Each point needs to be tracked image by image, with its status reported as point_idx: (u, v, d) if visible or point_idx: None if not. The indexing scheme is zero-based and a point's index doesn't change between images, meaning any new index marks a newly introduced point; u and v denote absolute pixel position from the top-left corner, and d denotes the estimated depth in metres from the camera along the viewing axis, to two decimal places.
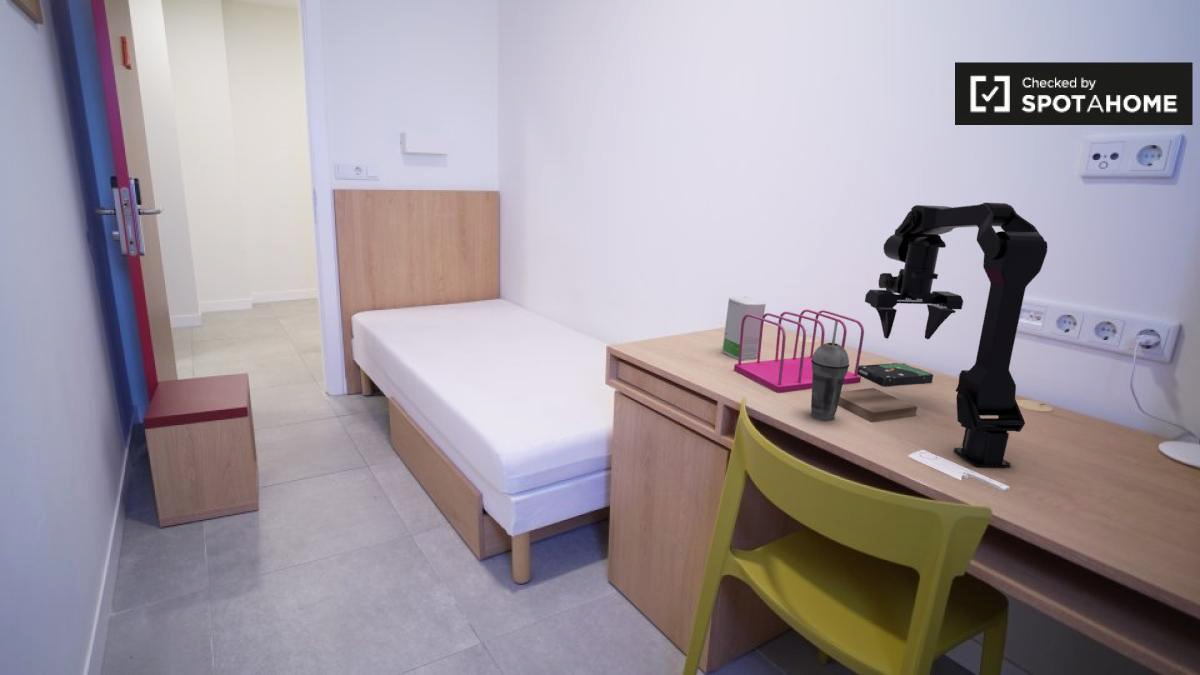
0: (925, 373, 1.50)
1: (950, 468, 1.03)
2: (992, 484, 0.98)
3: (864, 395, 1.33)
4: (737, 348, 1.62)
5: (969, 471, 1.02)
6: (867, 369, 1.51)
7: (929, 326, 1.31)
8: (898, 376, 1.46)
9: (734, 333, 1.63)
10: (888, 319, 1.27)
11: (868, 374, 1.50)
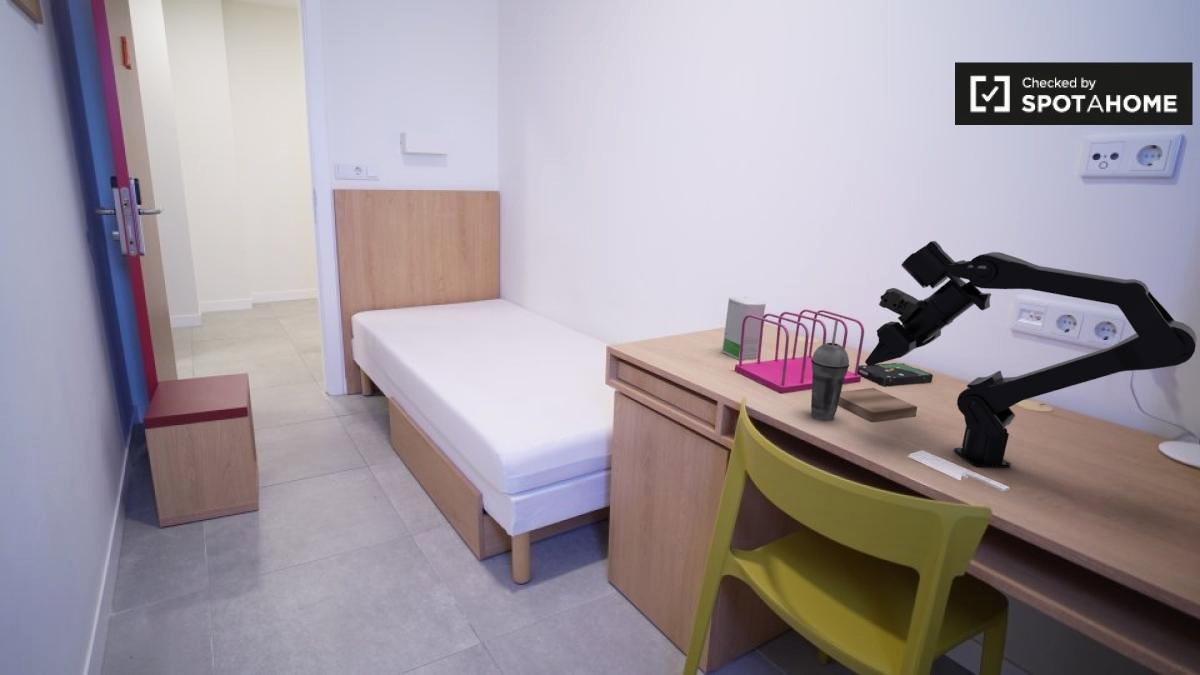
0: (925, 373, 1.50)
1: (950, 468, 1.03)
2: (992, 484, 0.98)
3: (864, 395, 1.33)
4: (737, 348, 1.62)
5: (969, 471, 1.02)
6: (867, 369, 1.51)
7: None
8: (898, 376, 1.47)
9: (734, 333, 1.63)
10: (890, 359, 1.10)
11: (868, 374, 1.50)
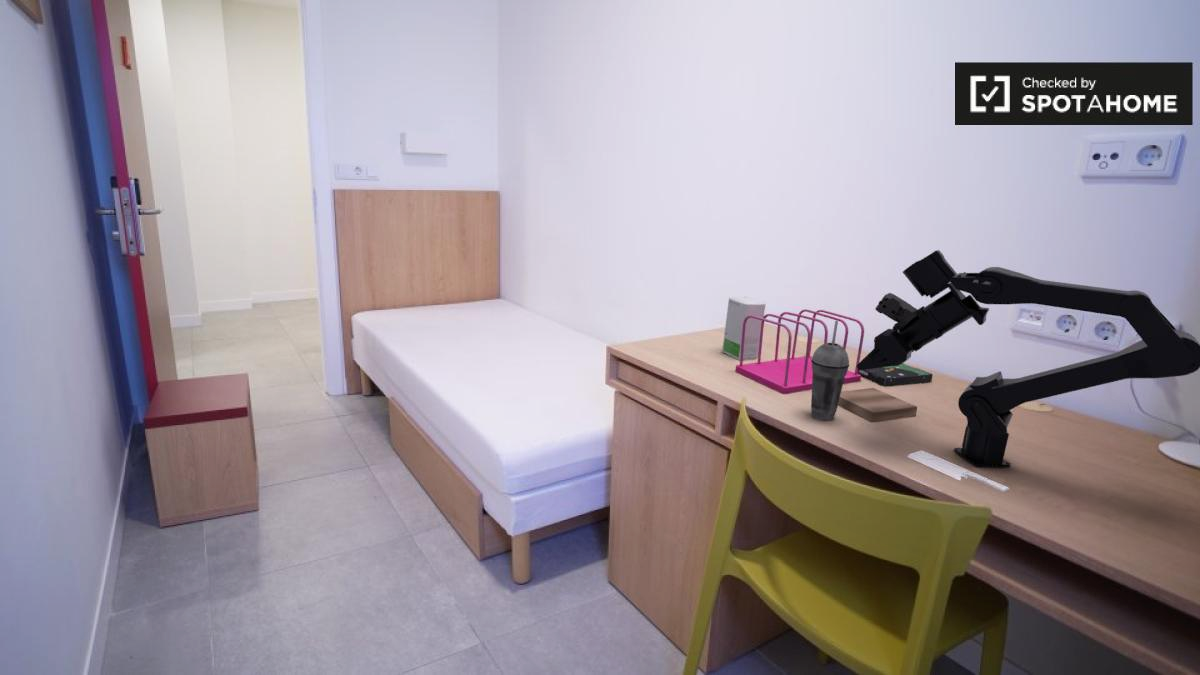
0: (924, 373, 1.50)
1: (949, 469, 1.03)
2: (991, 485, 0.98)
3: (864, 395, 1.33)
4: (737, 348, 1.62)
5: (968, 472, 1.02)
6: (867, 369, 1.51)
7: None
8: (898, 376, 1.47)
9: (734, 333, 1.63)
10: (884, 366, 1.10)
11: (868, 375, 1.50)
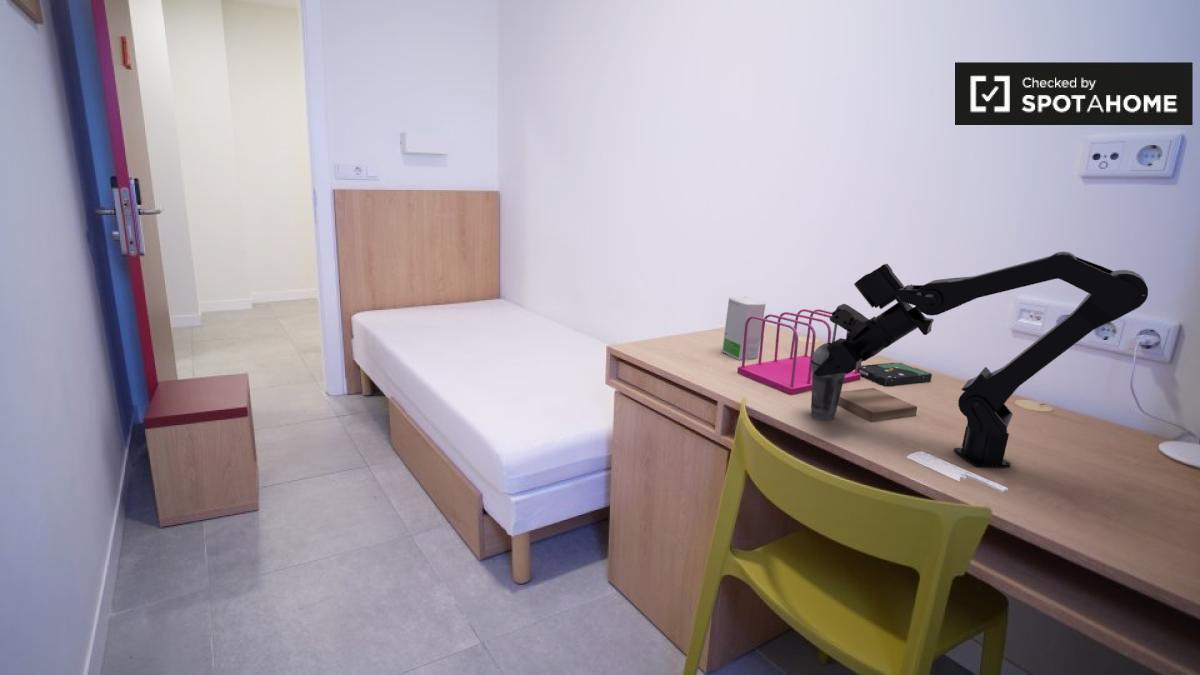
0: (924, 372, 1.50)
1: (948, 469, 1.02)
2: (990, 485, 0.98)
3: (864, 395, 1.33)
4: (737, 348, 1.62)
5: (967, 472, 1.02)
6: (867, 369, 1.51)
7: None
8: (899, 376, 1.47)
9: (734, 333, 1.63)
10: (838, 373, 1.16)
11: (868, 375, 1.50)
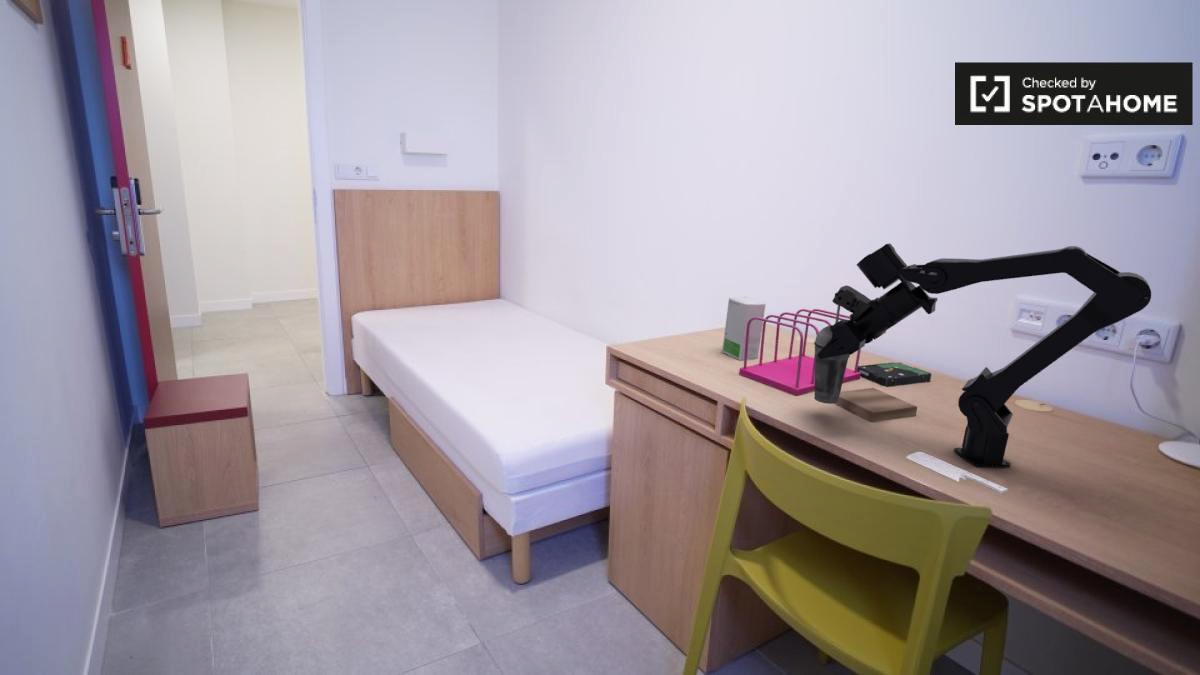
0: (923, 372, 1.51)
1: (947, 470, 1.02)
2: (990, 486, 0.98)
3: (864, 395, 1.33)
4: (737, 348, 1.62)
5: (967, 473, 1.01)
6: (867, 369, 1.51)
7: None
8: (899, 376, 1.47)
9: (734, 333, 1.63)
10: (842, 354, 1.15)
11: (869, 375, 1.49)
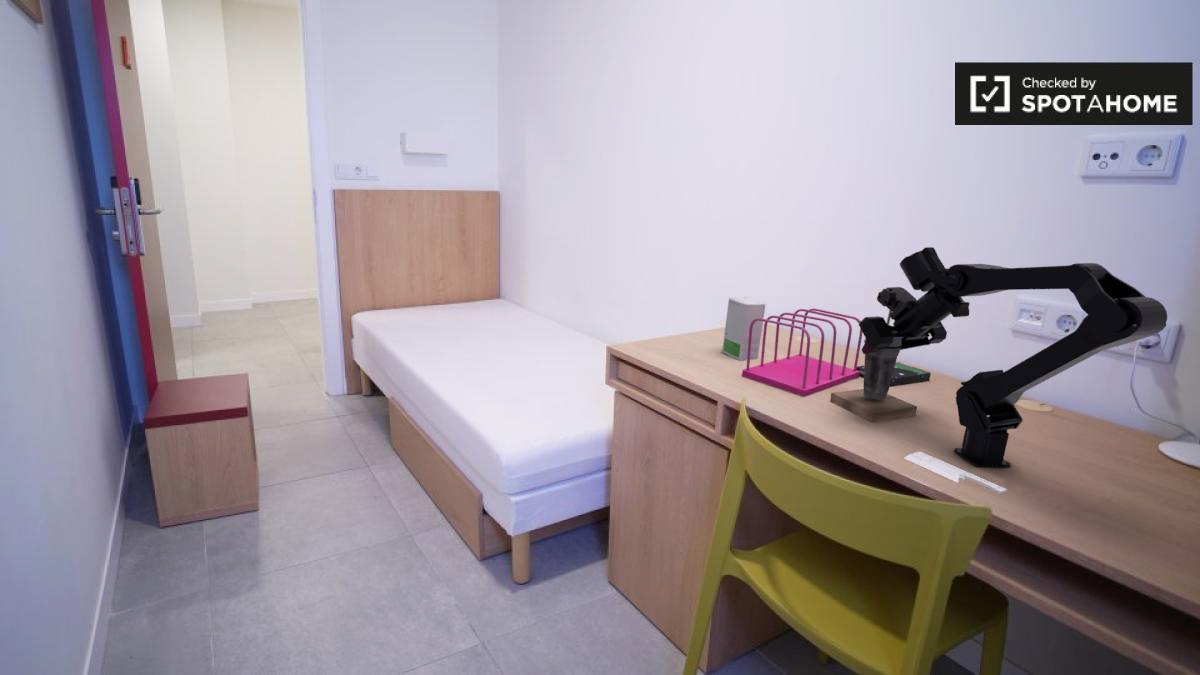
0: (922, 372, 1.51)
1: (947, 470, 1.02)
2: (989, 486, 0.98)
3: None
4: (737, 348, 1.62)
5: (966, 473, 1.01)
6: None
7: None
8: (899, 376, 1.47)
9: (734, 333, 1.63)
10: (876, 350, 1.22)
11: None
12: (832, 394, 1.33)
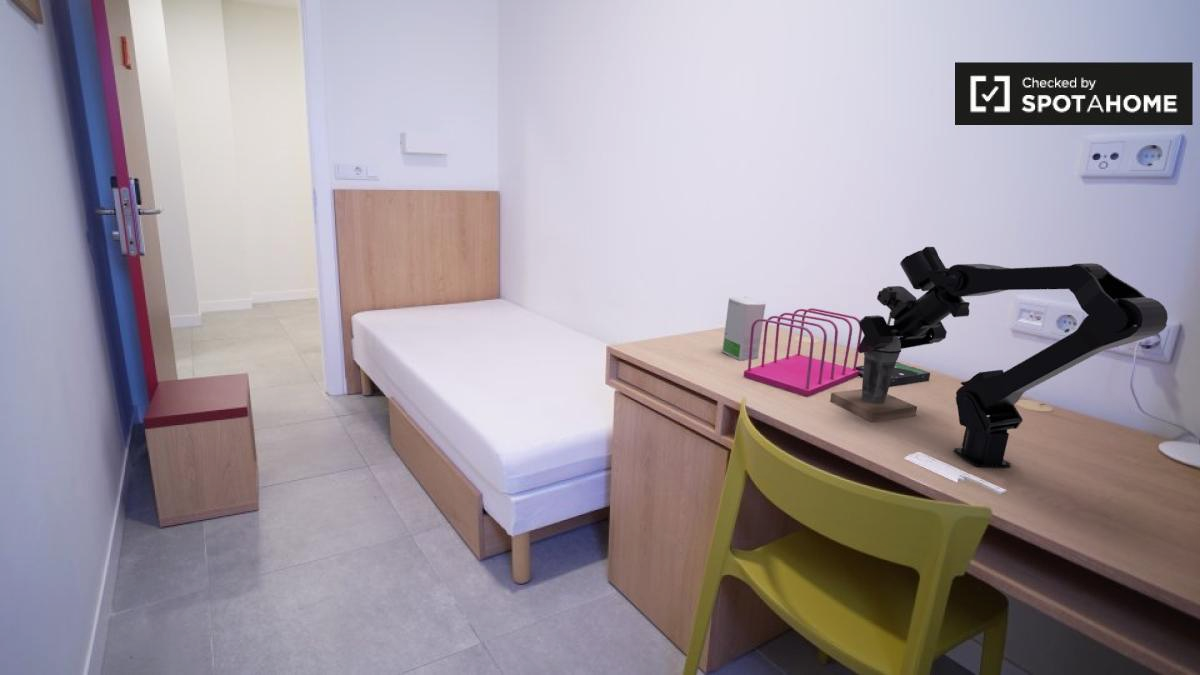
0: (922, 371, 1.51)
1: (946, 471, 1.02)
2: (988, 487, 0.97)
3: None
4: (737, 348, 1.62)
5: (965, 474, 1.01)
6: None
7: (901, 341, 1.28)
8: (900, 376, 1.47)
9: (734, 333, 1.63)
10: (872, 349, 1.22)
11: None
12: (832, 394, 1.33)
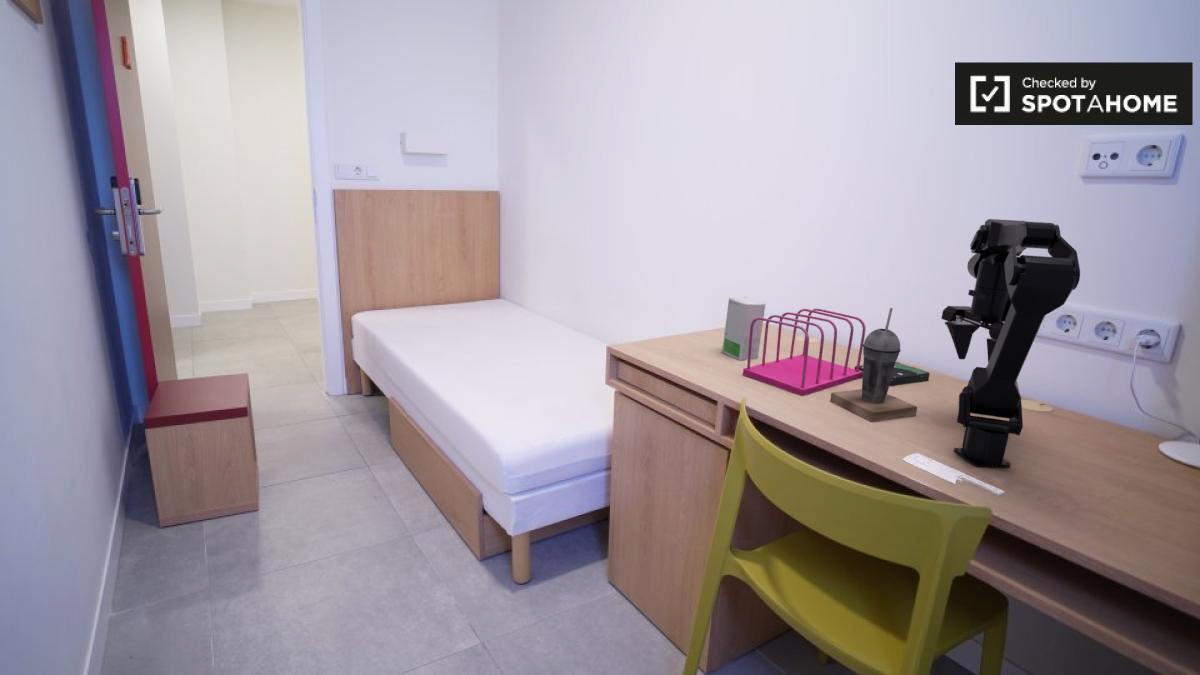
0: (921, 371, 1.51)
1: (944, 472, 1.01)
2: (987, 488, 0.97)
3: None
4: (737, 348, 1.62)
5: (963, 475, 1.01)
6: None
7: None
8: (898, 376, 1.47)
9: (734, 333, 1.63)
10: (951, 334, 1.23)
11: None
12: (832, 394, 1.33)
